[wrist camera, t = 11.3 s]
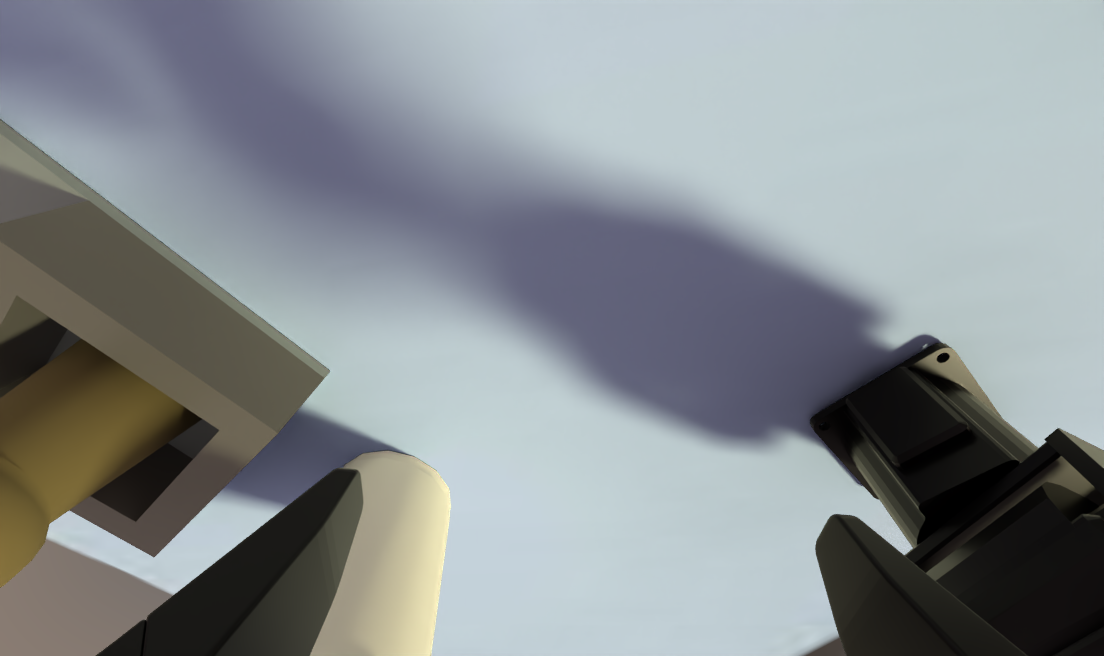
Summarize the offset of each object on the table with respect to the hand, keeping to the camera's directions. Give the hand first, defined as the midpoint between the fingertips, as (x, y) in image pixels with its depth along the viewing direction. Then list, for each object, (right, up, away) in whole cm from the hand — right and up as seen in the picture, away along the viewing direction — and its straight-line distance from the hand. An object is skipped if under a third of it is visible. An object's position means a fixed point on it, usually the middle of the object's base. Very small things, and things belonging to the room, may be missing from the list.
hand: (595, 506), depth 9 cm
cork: (-19, +2, +14) cm, 24 cm away
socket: (-23, +2, +15) cm, 27 cm away
